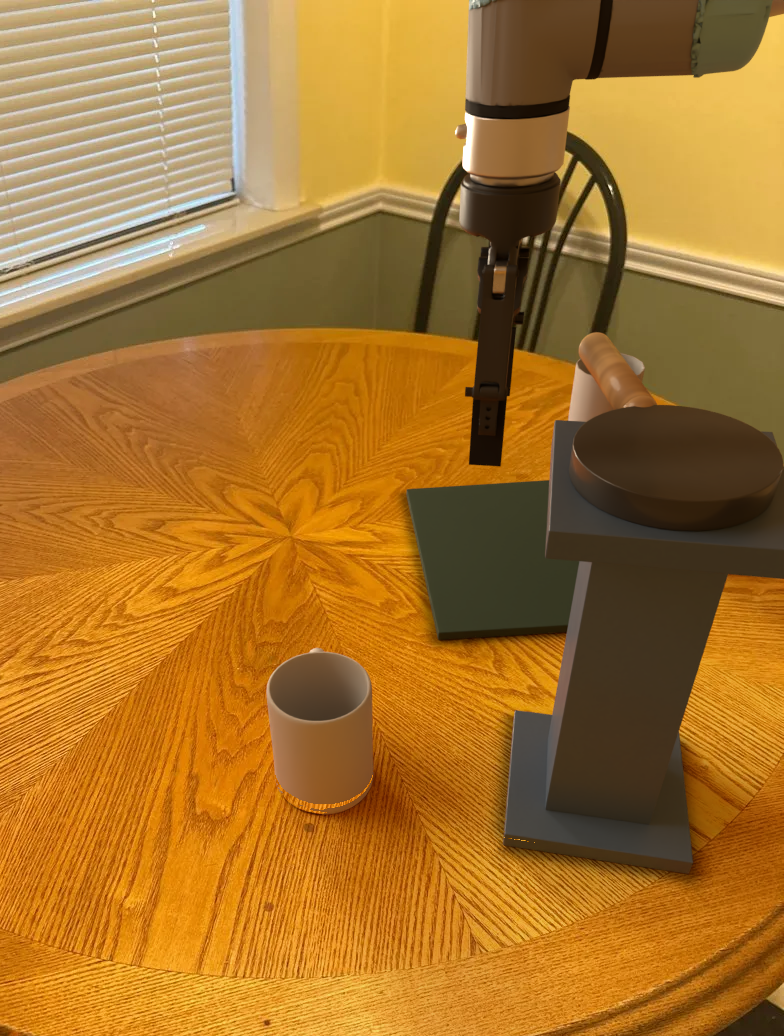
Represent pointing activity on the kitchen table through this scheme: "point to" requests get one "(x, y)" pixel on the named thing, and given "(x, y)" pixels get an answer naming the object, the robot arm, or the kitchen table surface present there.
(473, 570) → the mat
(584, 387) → the cup
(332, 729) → the mug
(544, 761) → the stand
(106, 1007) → the kitchen table surface
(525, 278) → the robot arm
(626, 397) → the brown paddle
